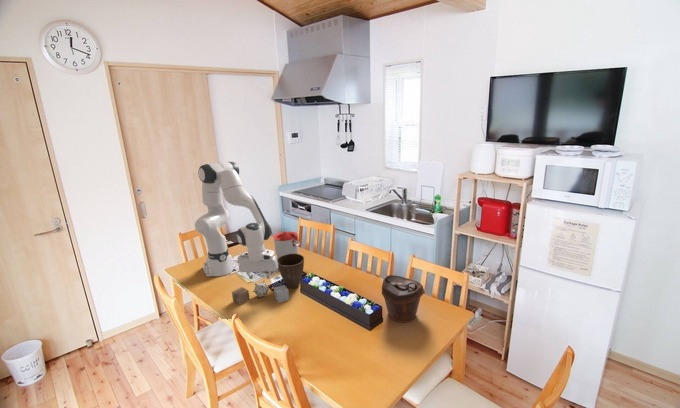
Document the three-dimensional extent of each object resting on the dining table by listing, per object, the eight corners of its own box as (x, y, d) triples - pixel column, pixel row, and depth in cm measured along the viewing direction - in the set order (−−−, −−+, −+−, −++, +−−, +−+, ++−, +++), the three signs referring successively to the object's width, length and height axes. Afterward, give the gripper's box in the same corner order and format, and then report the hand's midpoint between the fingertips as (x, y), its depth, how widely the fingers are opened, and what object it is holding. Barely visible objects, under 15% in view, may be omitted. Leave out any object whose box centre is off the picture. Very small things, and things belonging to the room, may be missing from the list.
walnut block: (233, 302, 174) (231, 291, 173) (242, 296, 179) (241, 286, 177) (240, 305, 171) (238, 295, 169) (249, 300, 175) (248, 290, 174)
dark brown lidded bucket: (430, 322, 150) (431, 287, 145) (388, 329, 147) (387, 293, 142) (415, 301, 167) (415, 269, 162) (377, 307, 164) (376, 274, 159)
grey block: (274, 297, 176) (273, 287, 175) (285, 294, 179) (284, 284, 177) (278, 303, 171) (277, 292, 170) (289, 299, 174) (288, 289, 172)
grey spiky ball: (259, 303, 179) (246, 290, 176) (268, 290, 184) (255, 278, 182) (267, 300, 172) (253, 288, 170) (276, 288, 178) (263, 275, 176)
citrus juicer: (293, 267, 209) (290, 237, 203) (271, 262, 216) (267, 234, 211) (306, 256, 222) (304, 228, 217) (284, 253, 230) (282, 226, 224)
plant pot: (311, 282, 189) (309, 257, 185) (293, 295, 178) (290, 268, 173) (292, 276, 198) (290, 251, 193) (274, 287, 186) (271, 261, 182)
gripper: (235, 257, 169) (238, 281, 173) (274, 256, 168) (277, 280, 172) (239, 252, 175) (242, 275, 179) (277, 251, 174) (280, 274, 178)
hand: (260, 278), depth 175 cm, fingers open, 8 cm apart
